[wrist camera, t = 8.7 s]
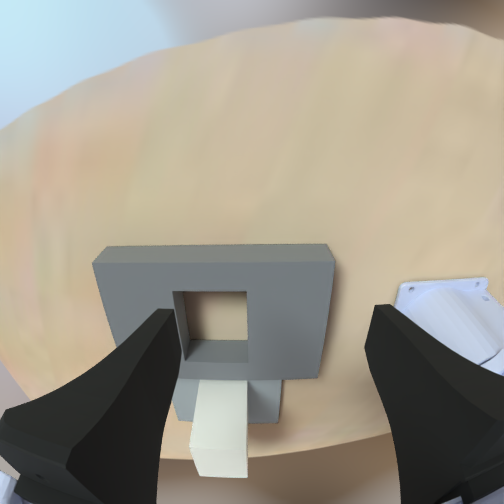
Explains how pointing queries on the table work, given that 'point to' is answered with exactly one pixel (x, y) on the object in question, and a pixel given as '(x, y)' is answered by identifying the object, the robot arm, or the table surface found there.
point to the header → (227, 279)
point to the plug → (221, 429)
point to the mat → (259, 400)
